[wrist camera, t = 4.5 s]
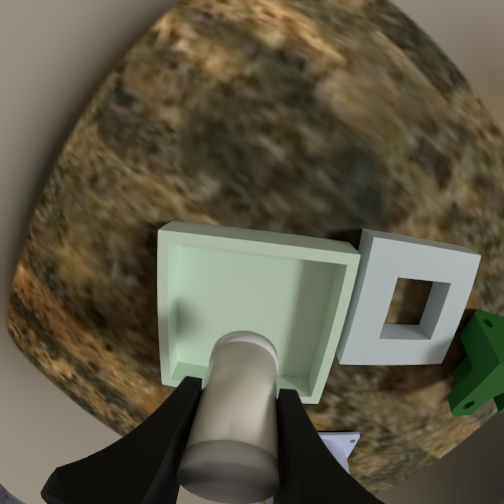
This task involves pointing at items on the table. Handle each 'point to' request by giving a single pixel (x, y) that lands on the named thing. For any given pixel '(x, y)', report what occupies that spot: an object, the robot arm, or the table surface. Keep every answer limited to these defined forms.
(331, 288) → the parts tray
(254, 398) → the cylinder
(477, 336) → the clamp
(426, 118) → the table surface
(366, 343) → the grey square frame
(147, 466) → the robot arm
